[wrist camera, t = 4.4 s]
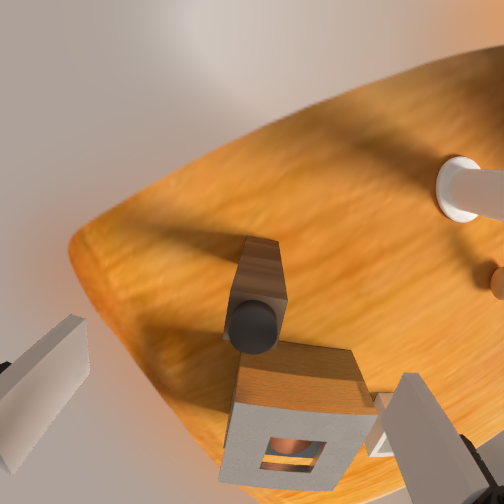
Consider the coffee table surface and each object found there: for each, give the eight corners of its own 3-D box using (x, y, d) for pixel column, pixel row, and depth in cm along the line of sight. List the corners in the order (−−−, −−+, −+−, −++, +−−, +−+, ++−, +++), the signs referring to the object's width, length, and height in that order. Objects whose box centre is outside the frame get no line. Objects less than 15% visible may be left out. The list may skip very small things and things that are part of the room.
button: (274, 386, 31) (274, 425, 25) (310, 391, 31) (317, 429, 25) (266, 413, 32) (265, 451, 26) (301, 417, 32) (305, 455, 26)
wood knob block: (247, 235, 30) (227, 301, 15) (278, 241, 30) (289, 312, 15) (242, 265, 31) (218, 353, 16) (272, 271, 31) (276, 363, 16)
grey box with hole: (244, 335, 33) (234, 401, 22) (351, 350, 33) (378, 415, 22) (228, 414, 36) (218, 481, 25) (321, 425, 36) (332, 490, 25)
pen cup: (378, 392, 34) (390, 420, 29) (420, 393, 34) (435, 418, 29) (359, 428, 36) (368, 457, 31) (400, 428, 36) (412, 454, 31)
